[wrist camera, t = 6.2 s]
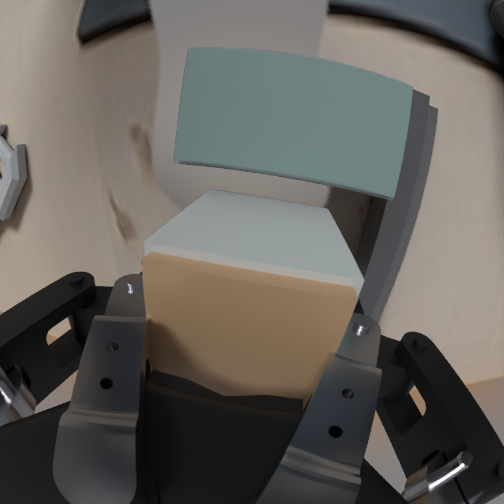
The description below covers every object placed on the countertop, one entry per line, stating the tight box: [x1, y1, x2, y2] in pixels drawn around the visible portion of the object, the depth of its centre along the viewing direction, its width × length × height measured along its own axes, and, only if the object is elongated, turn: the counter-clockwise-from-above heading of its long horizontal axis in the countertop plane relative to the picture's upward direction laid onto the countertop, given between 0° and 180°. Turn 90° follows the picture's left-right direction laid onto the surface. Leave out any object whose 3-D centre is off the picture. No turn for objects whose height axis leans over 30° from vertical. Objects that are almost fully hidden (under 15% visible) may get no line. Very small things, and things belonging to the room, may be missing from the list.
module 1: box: [174, 47, 413, 201], centre depth 12 cm, size 5×9×6 cm, turn 82°
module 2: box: [141, 190, 364, 407], centre depth 9 cm, size 6×5×6 cm
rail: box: [355, 89, 438, 322], centre depth 16 cm, size 20×3×2 cm, turn 172°
